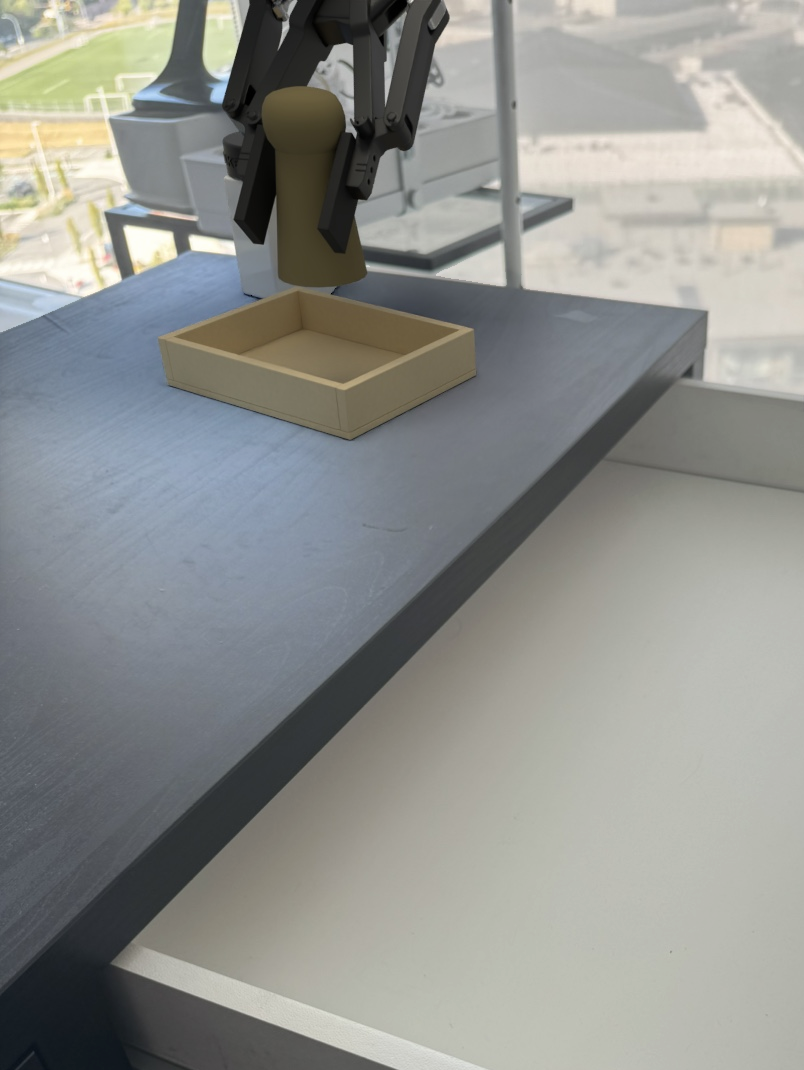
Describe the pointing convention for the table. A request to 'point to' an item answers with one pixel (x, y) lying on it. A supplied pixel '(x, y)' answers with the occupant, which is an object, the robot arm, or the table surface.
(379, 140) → the robot arm
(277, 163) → the cork
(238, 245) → the jar
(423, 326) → the tray
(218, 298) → the table surface
